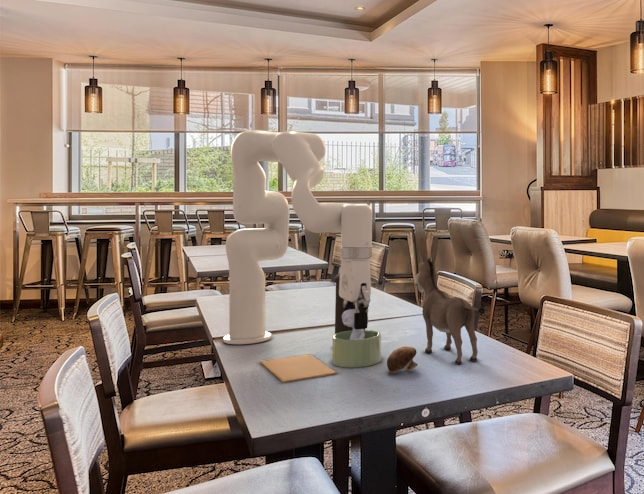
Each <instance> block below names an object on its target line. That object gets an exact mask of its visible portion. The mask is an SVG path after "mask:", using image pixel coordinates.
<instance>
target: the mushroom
mask: <svg viewBox="0 0 644 494" xmlns="http://www.w3.org/2000/svg"><path fill="white" fill-rule="evenodd" d="M416 355H417V349H416V348H415V347H413V346H400V347H398V348H396V349H394V350H393V351H392V352H391V353H390V354H389V355H388V358H387V360H386V367H387V370H388V372H389V373H391V374H397V373H399V372H401V371H405V372H410V371H411V370H413V369H415V368H417V366H418V364H419V363H416V362H415V361H414V358H415V357H416Z"/></svg>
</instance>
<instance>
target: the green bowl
mask: <svg viewBox="0 0 644 494" xmlns="http://www.w3.org/2000/svg"><path fill="white" fill-rule="evenodd" d="M352 331H353V330H351V331H344V332H339V333H336V334H335V333H334V334H333V335H332V365H334V366H336V367H340V368H364V367H370V366H373V365H376V364H378V363H380V362H381V360H382V333H381V332H380V331H377V330H371V329H365V330H364V334H365V337H364V339H357V340H349V339H350V336H351V334H352Z"/></svg>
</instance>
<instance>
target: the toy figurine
mask: <svg viewBox="0 0 644 494" xmlns="http://www.w3.org/2000/svg"><path fill="white" fill-rule="evenodd" d="M354 313H356V309H349V310H346V311H345V312H344V313H343V314H342V322H343V323H344V325H347V326H348V327H353V331H352V334H351V336H350V339H349V340H357V339H364V337H365V334H364V329H358V330H356V329H354ZM367 326H369V323H368V324H367Z"/></svg>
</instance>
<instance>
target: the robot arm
mask: <svg viewBox="0 0 644 494" xmlns="http://www.w3.org/2000/svg"><path fill="white" fill-rule="evenodd" d="M325 156H326V145H325V142H324V140H323V139H322V138H321V137H320V136H319V135H318V134H316V133H312V132H302V131H294V130H293V131H292V130H288V131H281V132H276V131H269V130H260V129H258V130H256V129H255V130H254V129H251V130H249V129H248V130H245V131H241V132H239V133H238V134H237V135H236V136H235V138H234V139H233V141H232V144H231V147H230V159H231V165H232V171H233V190H232V191H233V192H232V194H233V195H232V215H233V219H234V220H235V221H236V222H237V223H240V224H243V225H260V224H262V225H263V224H264V227H263V228H262V227H261V228H258V227H256V228H255V227H254V228H241V229H237V230H235V231H232V232H231V233H230V234H229V235H228V236H227V237H226V240H225V252H226V257H227V258H226V259H227V263H228V273H229V274H228V276H229V277H228V279H229V281H228V282H229V284H228V285H229V291H228V292H229V295H228V296H229V297H228V299H229V303H228V304H229V309H228V311H229V312H228V315H229V316H228V317H229V320H228V321H229V322H228V324H229V325H228V326H229V327H228V329H229V330H228V331H229V332H228V333H229V334H227V335H225V336H223V343H225V344H228V345H250V344H257V343H263V342H267V341H269V340H271V338H272V333H271V332H268V331H266V275H265V271H264V270H263V268H262V267H261V265H260V264H259V262H265V261H275V260H278V259H281V258H283V257H284V256H285V254H286V253H287V251H288V248H289V247H288V246H289V233H290V206H289V205H290V204H289V202H288V199H287V198H286V196H285V195H284V194H283V193H282V192H280V191H275V190H267V189H266V184H267V183H266V182H267V176H266V172H265V170H264V168H263V167H262V165H261V164H260V162H271V163H280V164H281V166H282V167H283V169H284V171H285V172H286V174H287V175H288V177H289V179H290V180H291V182H292V184H293V186H292V189H291V206H292V209H293V211H294V213H295V215H296V216H297V218H298V219H299V221H300V223H301V224H302V225H303V226H304V227H305V228H306V230H308V231H309V232H311V233H313V234H314V233H315V234H325V233H340V261H341V262H340V268H339V269H340V270H339V274H340V281H339V296H340V297H341V298H343V300H344V303H343V307H344V312H345V311H346V310H349V309H356V313H354V329H356V330H358V329H365V330H367V328H368V325H369V315H368V314H369V307H370V303H371V295H372V294H371V293H372V277H371V276H372V274H371V264H370V263H371V262H370V261H372V260H373V208H372V206H371V205H369V204H363V203H362V204H361V203H348V202H318V200H317V199H316V197H315V196H314V195H313V193H312V191H311V190H312V189H313V188H315V187H316V186H317V185H318V184H320V183H321V182H322V181H323V179H324V176H325V169H324V167H323V165H322V164H321V163H320V162H321V161H322V160H324V158H325ZM358 298H361V299H360V300H357V299H358ZM359 303H361V304H360V306H359ZM345 307H346V308H345ZM367 324H368V325H367Z"/></svg>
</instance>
